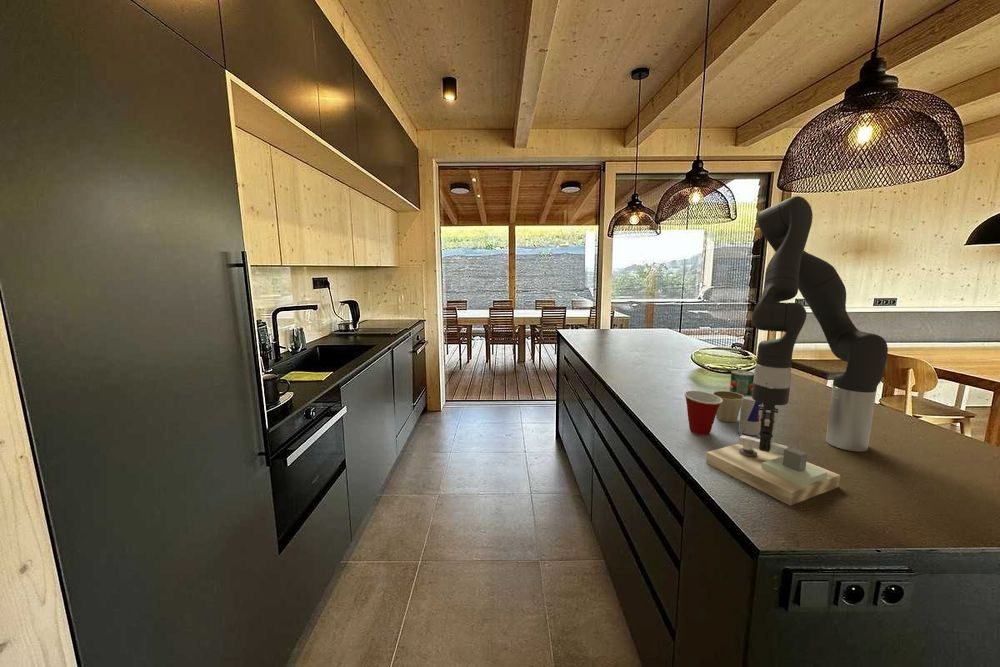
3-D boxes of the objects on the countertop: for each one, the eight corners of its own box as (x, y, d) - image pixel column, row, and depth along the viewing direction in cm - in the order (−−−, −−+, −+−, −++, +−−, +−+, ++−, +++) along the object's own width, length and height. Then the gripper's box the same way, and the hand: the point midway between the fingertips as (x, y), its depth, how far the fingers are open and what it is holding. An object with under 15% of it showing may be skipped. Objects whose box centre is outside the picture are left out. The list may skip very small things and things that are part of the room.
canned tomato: (757, 402, 150) (759, 375, 148) (736, 402, 150) (738, 375, 148) (744, 396, 158) (746, 369, 156) (724, 396, 158) (727, 369, 156)
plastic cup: (716, 442, 116) (720, 403, 114) (678, 433, 122) (680, 396, 121) (722, 430, 124) (725, 394, 122) (686, 422, 131) (688, 388, 129)
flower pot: (712, 422, 131) (714, 397, 130) (709, 412, 140) (711, 389, 138) (744, 426, 128) (747, 400, 126) (739, 416, 136) (741, 392, 135)
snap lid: (785, 461, 98) (787, 440, 97) (826, 478, 90) (829, 455, 89) (761, 468, 94) (763, 447, 94) (802, 486, 86) (805, 463, 85)
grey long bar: (740, 446, 104) (741, 434, 104) (786, 459, 97) (787, 445, 97) (738, 449, 102) (739, 437, 102) (784, 462, 96) (786, 449, 95)
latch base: (751, 450, 111) (752, 438, 110) (838, 487, 91) (840, 472, 91) (705, 462, 104) (706, 449, 103) (790, 505, 84) (792, 490, 84)
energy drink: (762, 439, 117) (765, 401, 115) (742, 438, 118) (746, 400, 116) (754, 432, 122) (757, 395, 121) (735, 431, 124) (738, 394, 122)
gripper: (755, 374, 104) (749, 436, 107) (751, 386, 93) (744, 454, 96) (790, 379, 100) (782, 443, 103) (790, 392, 89) (782, 463, 92)
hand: (764, 448), depth 99 cm, fingers closed on grey long bar, 2 cm apart
